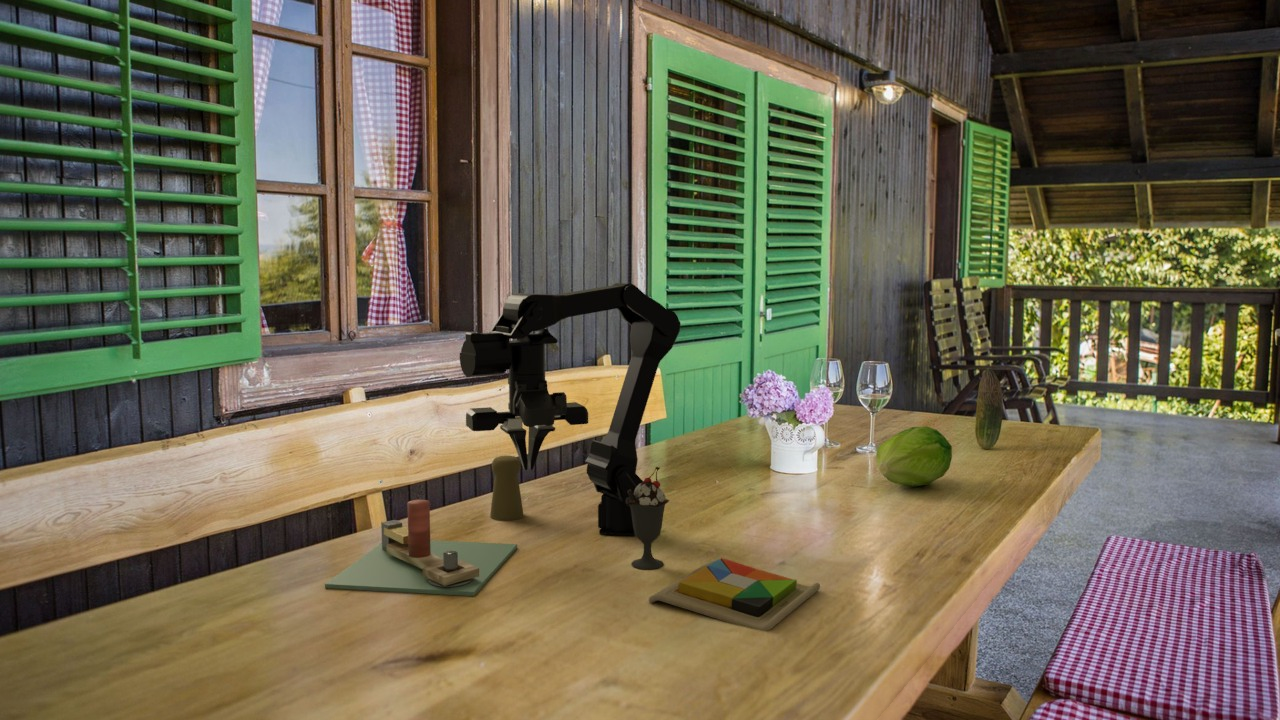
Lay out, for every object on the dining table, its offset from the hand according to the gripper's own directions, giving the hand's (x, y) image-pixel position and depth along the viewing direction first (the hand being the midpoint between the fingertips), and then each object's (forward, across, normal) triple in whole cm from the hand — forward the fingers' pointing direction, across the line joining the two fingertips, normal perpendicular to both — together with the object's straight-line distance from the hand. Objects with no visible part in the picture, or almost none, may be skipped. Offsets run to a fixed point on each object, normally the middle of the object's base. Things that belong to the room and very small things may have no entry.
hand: (528, 469), depth 150 cm
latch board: (+13, -17, -3) cm, 21 cm away
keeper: (+13, -20, +3) cm, 24 cm away
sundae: (+13, +15, -14) cm, 25 cm away
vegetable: (+13, +126, +36) cm, 132 cm away
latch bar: (+12, -17, -6) cm, 22 cm away
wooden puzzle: (+14, +21, -32) cm, 40 cm away
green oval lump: (+13, +82, +10) cm, 84 cm away
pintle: (+13, -15, -12) cm, 23 cm away
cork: (+13, +1, +20) cm, 24 cm away
